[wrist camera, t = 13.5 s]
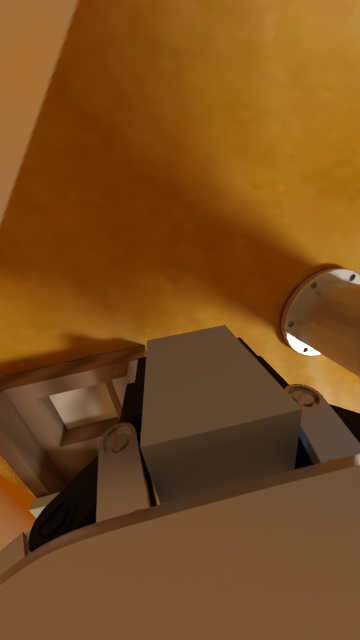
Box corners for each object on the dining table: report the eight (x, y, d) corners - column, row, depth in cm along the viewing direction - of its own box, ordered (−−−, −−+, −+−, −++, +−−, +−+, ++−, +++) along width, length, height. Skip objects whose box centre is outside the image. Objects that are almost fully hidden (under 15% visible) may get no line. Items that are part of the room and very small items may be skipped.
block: (225, 325, 11) (302, 408, 5) (228, 386, 12) (290, 498, 7) (147, 340, 10) (139, 447, 5) (162, 400, 12) (169, 531, 6)
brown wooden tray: (144, 345, 23) (144, 371, 18) (173, 454, 32) (178, 492, 27) (-9, 378, 22) (-55, 418, 17) (65, 484, 30) (49, 532, 25)
